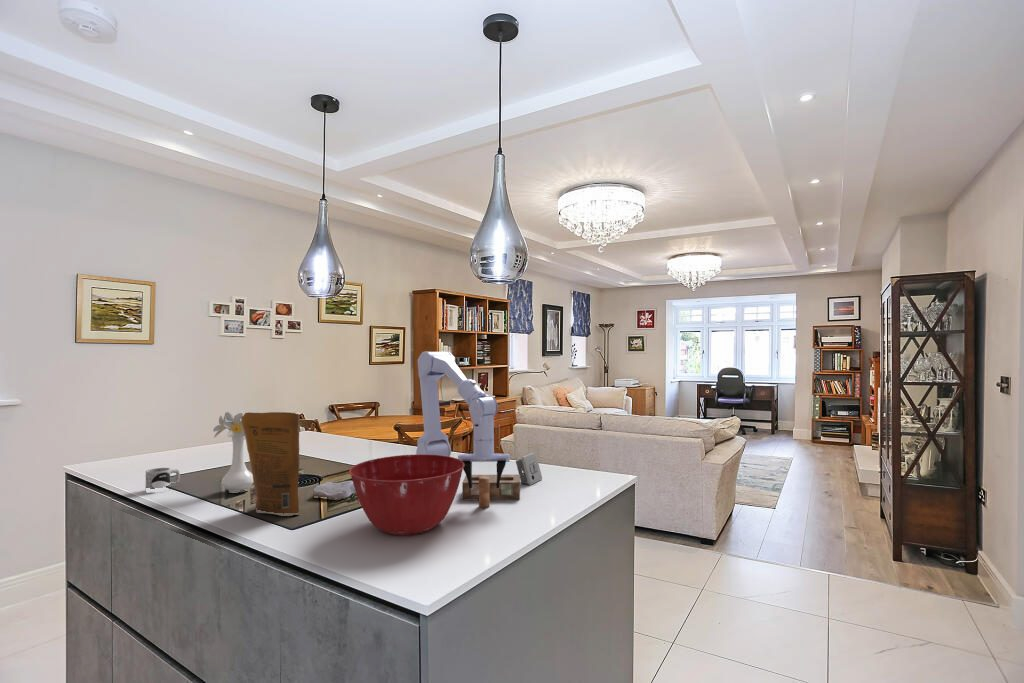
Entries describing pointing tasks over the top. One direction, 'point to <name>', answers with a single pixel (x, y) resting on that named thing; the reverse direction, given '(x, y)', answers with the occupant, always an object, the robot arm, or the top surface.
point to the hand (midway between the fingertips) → (484, 487)
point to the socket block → (493, 487)
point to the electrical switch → (529, 469)
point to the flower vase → (235, 454)
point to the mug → (160, 477)
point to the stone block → (334, 489)
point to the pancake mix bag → (274, 459)
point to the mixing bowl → (407, 491)
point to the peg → (484, 492)
